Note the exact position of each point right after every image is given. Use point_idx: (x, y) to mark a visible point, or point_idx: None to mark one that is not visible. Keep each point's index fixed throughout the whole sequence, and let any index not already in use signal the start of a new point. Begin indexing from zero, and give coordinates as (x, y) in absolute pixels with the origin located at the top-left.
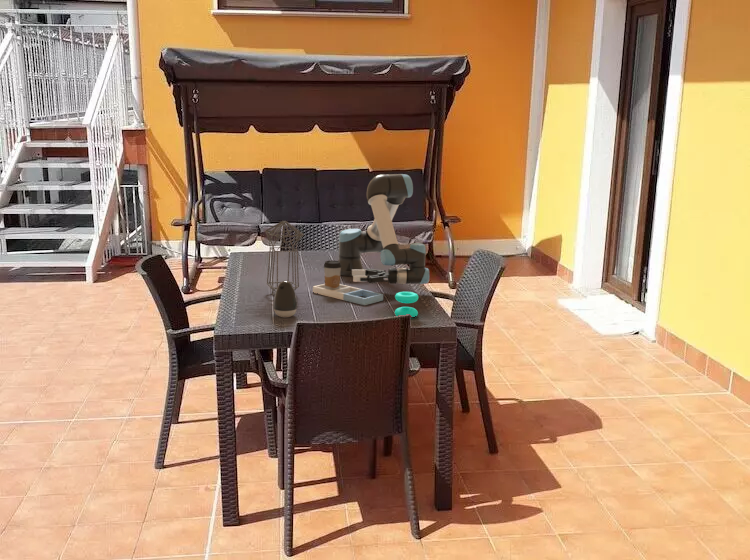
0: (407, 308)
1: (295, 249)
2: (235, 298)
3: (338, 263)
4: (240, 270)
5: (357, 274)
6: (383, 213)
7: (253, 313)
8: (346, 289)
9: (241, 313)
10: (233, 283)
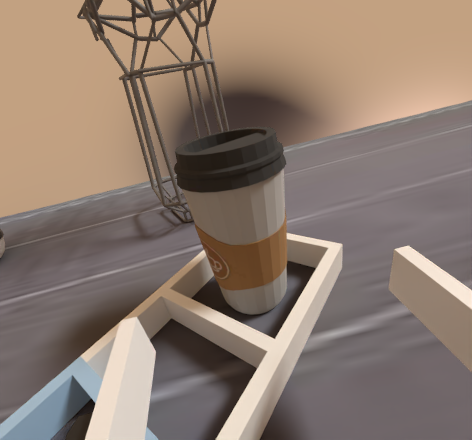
0: None
1: (165, 66)
2: None
3: (194, 158)
4: (381, 127)
5: (432, 323)
6: None
7: (45, 223)
8: (239, 342)
9: (55, 213)
10: None
